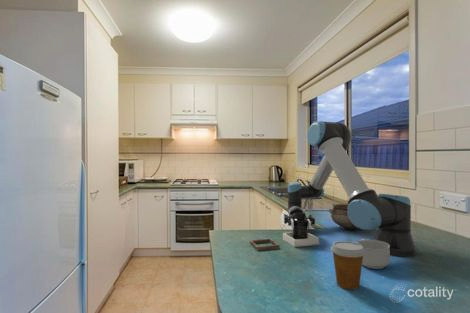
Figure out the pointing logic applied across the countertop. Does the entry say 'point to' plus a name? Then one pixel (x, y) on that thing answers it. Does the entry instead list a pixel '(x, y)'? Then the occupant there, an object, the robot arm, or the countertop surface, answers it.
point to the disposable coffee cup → (348, 263)
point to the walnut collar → (259, 248)
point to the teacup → (375, 253)
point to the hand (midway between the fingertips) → (301, 225)
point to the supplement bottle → (300, 226)
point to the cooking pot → (341, 216)
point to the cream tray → (300, 240)
